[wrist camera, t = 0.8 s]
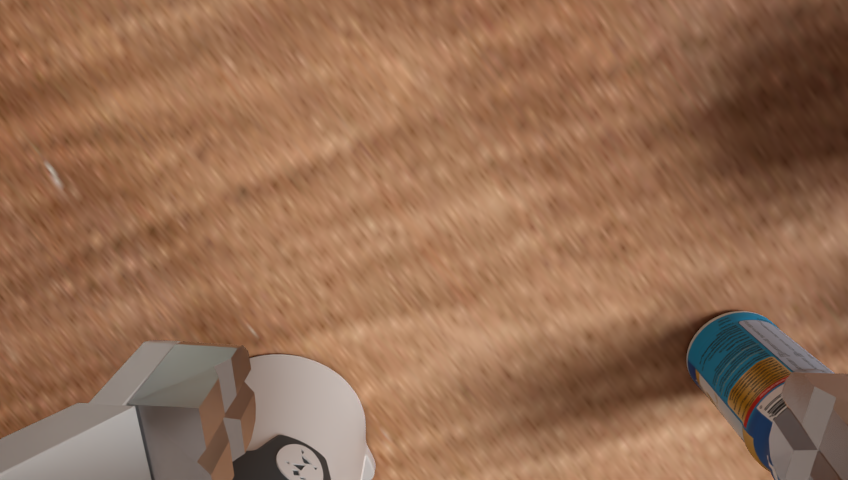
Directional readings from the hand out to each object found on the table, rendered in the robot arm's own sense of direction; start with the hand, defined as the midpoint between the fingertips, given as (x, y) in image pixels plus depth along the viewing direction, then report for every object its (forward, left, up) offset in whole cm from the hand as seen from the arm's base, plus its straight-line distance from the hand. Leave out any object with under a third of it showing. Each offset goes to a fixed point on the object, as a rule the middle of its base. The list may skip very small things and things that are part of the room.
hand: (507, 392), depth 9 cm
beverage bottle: (-2, -35, -38) cm, 51 cm away
